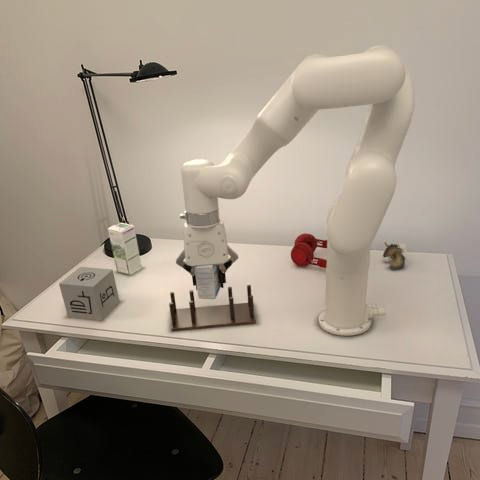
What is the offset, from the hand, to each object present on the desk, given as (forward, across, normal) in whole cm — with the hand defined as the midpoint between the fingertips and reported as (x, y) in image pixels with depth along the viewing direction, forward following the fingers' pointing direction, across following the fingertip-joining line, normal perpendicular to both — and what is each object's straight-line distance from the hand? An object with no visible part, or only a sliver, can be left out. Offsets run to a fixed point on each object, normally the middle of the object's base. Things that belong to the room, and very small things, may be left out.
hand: (209, 285), depth 127 cm
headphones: (+9, +35, +27) cm, 45 cm away
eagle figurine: (+9, +54, +22) cm, 59 cm away
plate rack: (+9, 0, 0) cm, 9 cm away
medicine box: (+2, 0, 0) cm, 2 cm away
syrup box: (+9, -25, +33) cm, 42 cm away
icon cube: (+9, -32, +10) cm, 35 cm away
